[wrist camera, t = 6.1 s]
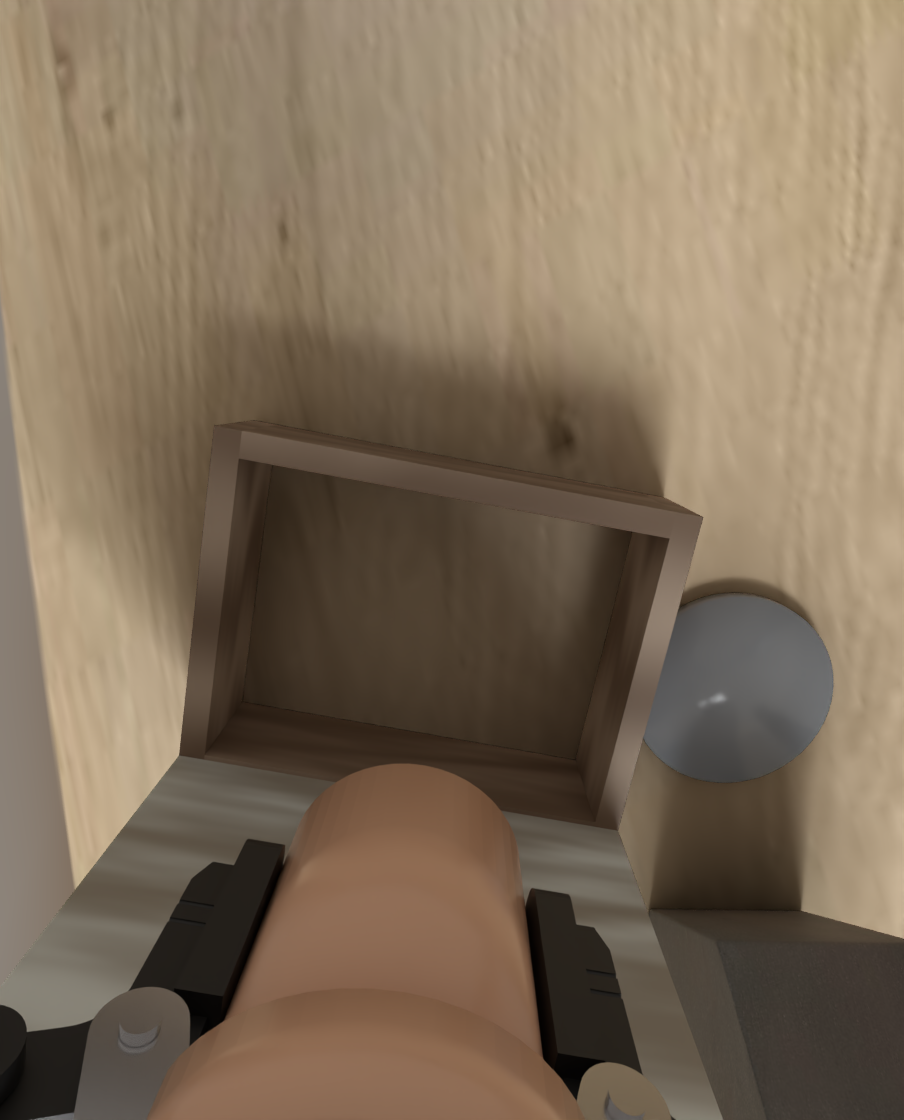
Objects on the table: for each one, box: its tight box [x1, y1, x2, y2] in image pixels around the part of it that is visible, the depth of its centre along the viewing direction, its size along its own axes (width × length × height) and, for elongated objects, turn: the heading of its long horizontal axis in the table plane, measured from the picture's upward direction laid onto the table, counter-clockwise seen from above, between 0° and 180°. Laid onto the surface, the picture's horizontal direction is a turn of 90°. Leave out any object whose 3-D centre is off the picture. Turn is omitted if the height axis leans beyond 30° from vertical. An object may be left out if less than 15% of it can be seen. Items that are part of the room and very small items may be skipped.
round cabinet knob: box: [146, 764, 585, 1120], centre depth 11 cm, size 6×6×8 cm
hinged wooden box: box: [0, 420, 723, 1120], centre depth 23 cm, size 14×18×19 cm
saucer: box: [643, 593, 833, 783], centre depth 32 cm, size 9×9×1 cm
